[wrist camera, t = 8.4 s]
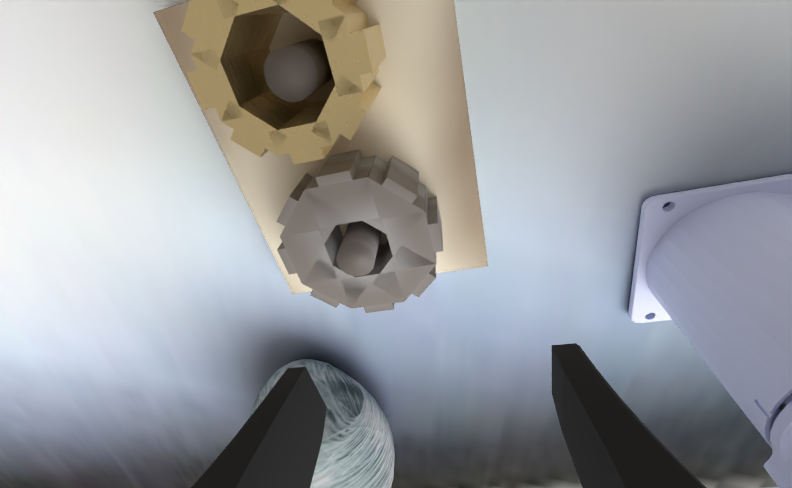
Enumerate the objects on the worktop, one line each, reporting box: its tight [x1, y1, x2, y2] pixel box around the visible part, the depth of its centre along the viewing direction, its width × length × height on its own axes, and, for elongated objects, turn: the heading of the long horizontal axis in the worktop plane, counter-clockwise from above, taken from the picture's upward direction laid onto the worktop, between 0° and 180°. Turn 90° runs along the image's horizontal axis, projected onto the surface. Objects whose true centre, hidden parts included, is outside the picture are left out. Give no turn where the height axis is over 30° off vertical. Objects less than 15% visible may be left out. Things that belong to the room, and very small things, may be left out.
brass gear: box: [181, 0, 387, 164], centre depth 13 cm, size 6×6×4 cm
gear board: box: [153, 0, 488, 313], centre depth 16 cm, size 11×14×4 cm
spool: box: [250, 359, 395, 488], centre depth 25 cm, size 14×10×10 cm
